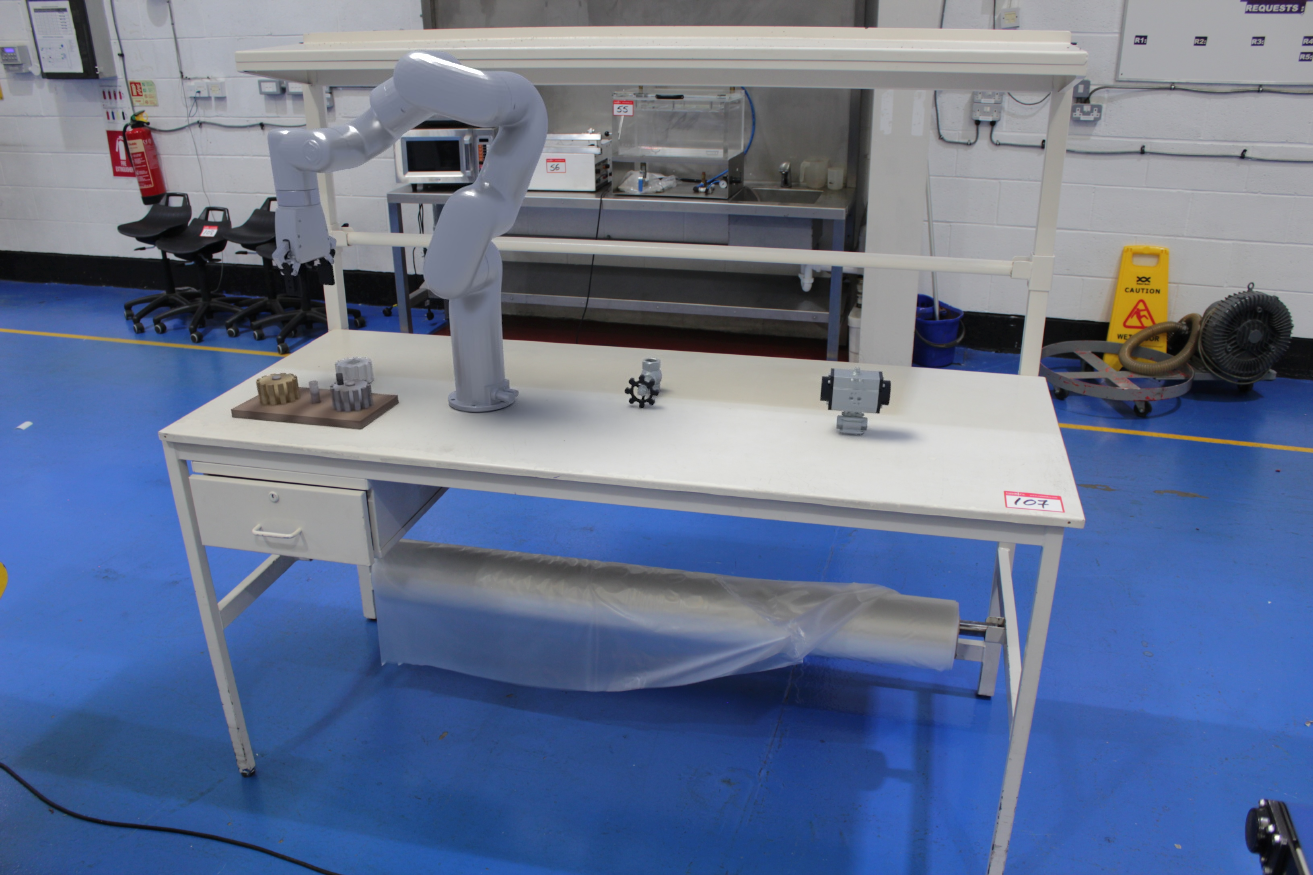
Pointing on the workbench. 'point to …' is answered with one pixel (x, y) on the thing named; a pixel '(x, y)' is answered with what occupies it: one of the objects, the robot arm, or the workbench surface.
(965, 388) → the workbench surface
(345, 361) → the gear
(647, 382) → the valve
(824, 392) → the pneumatic valve
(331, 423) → the gear board
